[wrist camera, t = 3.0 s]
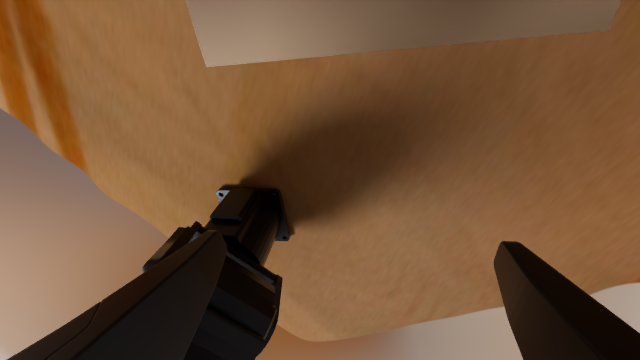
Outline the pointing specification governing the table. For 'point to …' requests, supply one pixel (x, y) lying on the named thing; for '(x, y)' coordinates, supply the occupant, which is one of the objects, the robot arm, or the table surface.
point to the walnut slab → (378, 25)
